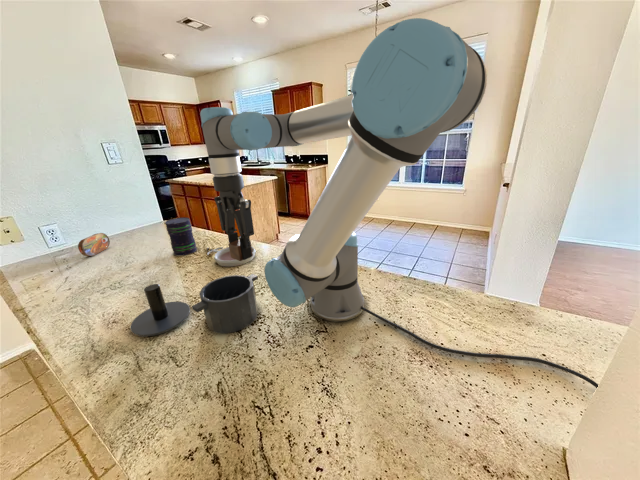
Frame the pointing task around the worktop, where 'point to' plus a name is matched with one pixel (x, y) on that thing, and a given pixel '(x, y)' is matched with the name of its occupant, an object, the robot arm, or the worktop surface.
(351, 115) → the robot arm
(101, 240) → the tin
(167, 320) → the lid
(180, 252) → the storage jar
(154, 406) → the worktop surface
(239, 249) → the block
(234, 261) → the frying pan
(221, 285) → the pot
